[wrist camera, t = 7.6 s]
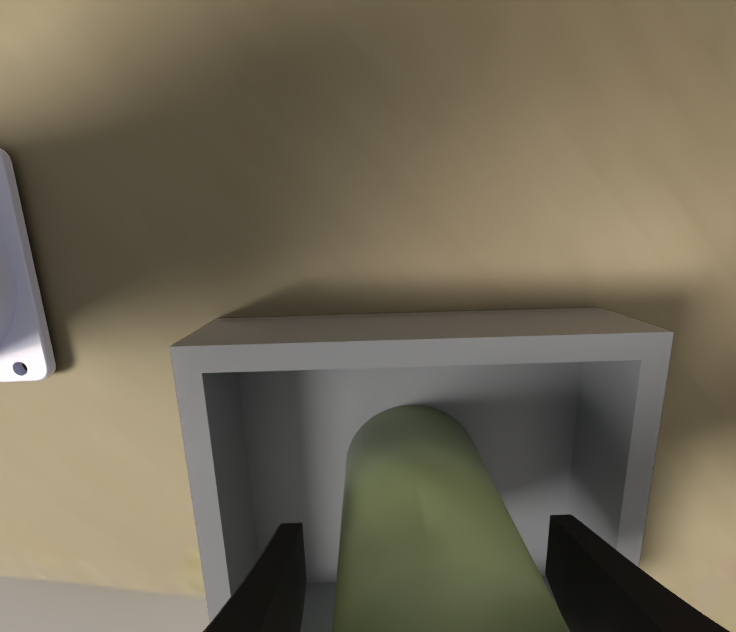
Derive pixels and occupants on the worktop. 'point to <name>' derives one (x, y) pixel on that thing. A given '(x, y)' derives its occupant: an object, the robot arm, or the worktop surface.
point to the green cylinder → (431, 536)
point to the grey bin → (414, 387)
